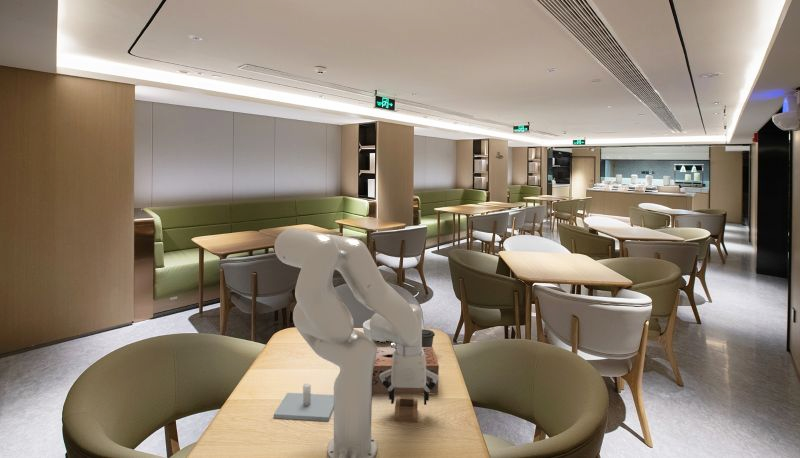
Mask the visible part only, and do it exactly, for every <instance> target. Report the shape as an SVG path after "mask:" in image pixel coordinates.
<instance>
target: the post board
mask: <svg viewBox="0 0 800 458" xmlns="http://www.w3.org/2000/svg"><path fill="white" fill-rule="evenodd" d="M311 386H312V385H311V384H310V383H304V384H303V385H302V392H301V393H300V392H299V393H298V392H287V393H286V395H284V398H283V399H282V401H281V402H280V404H279V405H278V407H277V409H276V410H275V412H274V413H273V419H284V420H300V421H301V420H302V421H303V420H304V421H321V422H329V421H330V420H331V417H332V415H333V414H332V413H333V412H334V394H319V393H311V392H312V388H311Z"/></svg>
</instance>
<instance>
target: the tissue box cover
mask: <svg viewBox="0 0 800 458" xmlns="http://www.w3.org/2000/svg"><path fill="white" fill-rule="evenodd" d="M376 348H377V353H376V359H375V363H374V368H373V376H372V395H389V391H388V389H387V388H386V387H385V386H384V385H383V383H382V381H381V380H380V378H379V376H380V374H381V373H383V372H385V371H387V370H389V369H391V366H392V356H393V352H394V350H395V348H391V346H376ZM422 350H423V351H424V354H425V360H426V369H427V370H429V371H431V372H433V373H435V374H437V375H438V376H439V369H440V365H439V362H438V358H437V356H436V352H435V349H434V347H433V346H432V347H422ZM385 378H386V379H387V380H388V381H389V382H391V375H390V376H387V377H385ZM426 381H427V382H428V383H429V382H430V381H432V378H430V377H428V376H426ZM419 393H424V389H423V388H400V387H394V395H420V394H419ZM429 393H438V394H439V380H438V381H437V383H436V384H435V386H434V387H433V388H432V389H431V390H430V392H429Z"/></svg>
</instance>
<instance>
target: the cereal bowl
mask: <svg viewBox="0 0 800 458" xmlns="http://www.w3.org/2000/svg"><path fill="white" fill-rule="evenodd" d="M370 320H371V318H369V319H368V320H365V321H364V322H363V323H362V328H363V329H362V330H363V331H362V332H363V333H365V334H367V335H368V336H370V337H371V338H372V339H373V341H374V342H376V341H379V342H378V343H381V342H385V343H387V342H386V341H389V340H386V339H383V338H380V337H378V336H376V335H374V334H373V333H372V332H371V330H370V326H369V323H370ZM389 342H390V341H389Z"/></svg>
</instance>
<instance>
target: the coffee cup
mask: <svg viewBox="0 0 800 458" xmlns="http://www.w3.org/2000/svg"><path fill="white" fill-rule="evenodd" d="M435 336H436V335H435V332H434V331H433V330H430V329H423V328H422V347H433V343H434V337H435Z"/></svg>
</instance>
